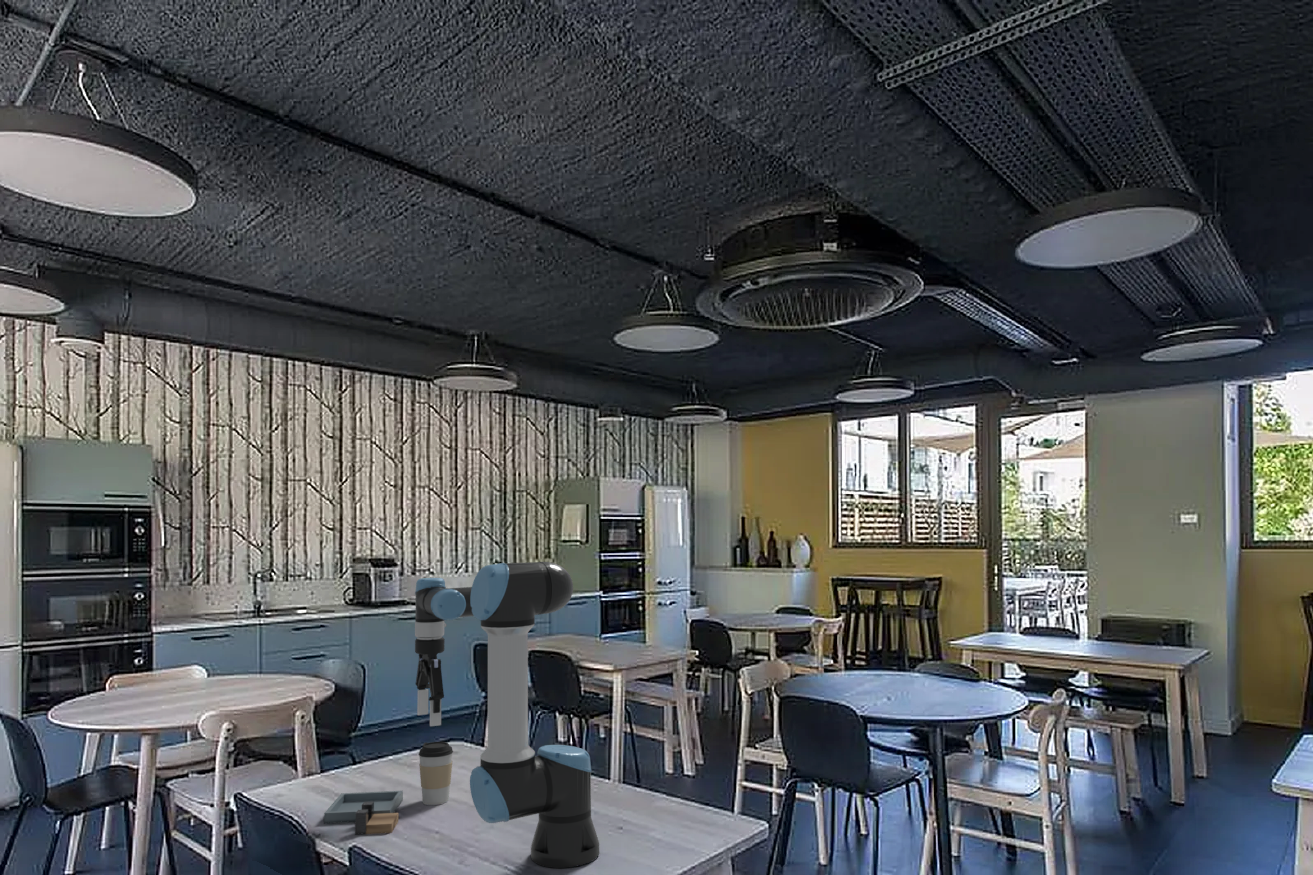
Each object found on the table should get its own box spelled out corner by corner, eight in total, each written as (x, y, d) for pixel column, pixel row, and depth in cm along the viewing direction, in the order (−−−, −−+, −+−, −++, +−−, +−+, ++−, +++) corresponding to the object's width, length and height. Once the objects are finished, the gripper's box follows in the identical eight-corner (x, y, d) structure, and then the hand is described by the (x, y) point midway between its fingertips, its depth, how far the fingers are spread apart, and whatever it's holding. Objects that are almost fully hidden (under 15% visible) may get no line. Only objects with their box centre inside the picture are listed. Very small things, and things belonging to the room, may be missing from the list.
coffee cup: (457, 795, 238) (457, 739, 240) (446, 806, 229) (446, 747, 231) (425, 795, 239) (425, 738, 240) (412, 806, 230) (413, 747, 232)
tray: (390, 820, 220) (390, 810, 220) (324, 823, 218) (324, 813, 218) (402, 800, 235) (402, 790, 236) (341, 803, 234) (341, 793, 234)
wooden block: (391, 834, 211) (391, 823, 211) (366, 836, 210) (366, 825, 210) (398, 823, 219) (398, 812, 219) (373, 824, 218) (373, 813, 218)
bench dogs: (365, 834, 210) (365, 812, 210) (355, 834, 210) (355, 813, 210) (373, 822, 218) (373, 801, 219) (363, 822, 218) (364, 802, 219)
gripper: (456, 642, 222) (456, 728, 220) (432, 630, 244) (431, 708, 242) (426, 645, 218) (425, 732, 217) (405, 632, 240) (403, 711, 239)
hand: (428, 720), depth 230 cm, fingers open, 13 cm apart
